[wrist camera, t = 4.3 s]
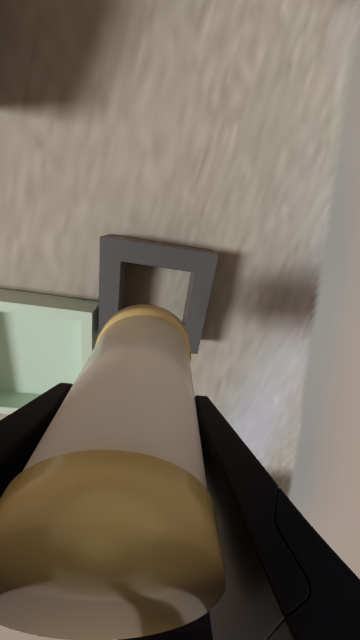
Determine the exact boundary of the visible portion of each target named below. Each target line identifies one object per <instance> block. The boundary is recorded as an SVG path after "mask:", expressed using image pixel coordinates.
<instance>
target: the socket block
mask: <svg viewBox="0 0 360 640" xmlns="http://www.w3.org/2000/svg"><path fill="white" fill-rule="evenodd" d="M218 257H219V255H218V254H216V253H215V252H214V251H212V250H205V249H199V248H193V247H186V246H180V245H174V244H168V243H161V242H155V241H149V240H143V239H136V238H130V237H124V236H118V235H111V234H108V235H104V236H101V237H100V272H99V331H98V336H99V334H100V333H101V331H102V329H103V328H104V326H105V324H106V323H107V321H108V320H109V319H110V318H111V317H112V316H113V315H114V314H115V313H116V312H118V311H120V310H121V309H124V295H125V279H126V263H127V262H128V263H135V264H141V265H148V266H155V267H162V268H168V269H175V270H182V271H188V272H191V275H190V281H189V286H188V292H187V298H186V304H185V309H184V315H183V321H182V323H183V325H184V327H185V328H186V330H187V333H188V337H189V343H190V349H191V353H193V354H197V353H198V349H199V344H200V340H201V335H202V330H203V326H204V321H205V317H206V312H207V307H208V303H209V298H210V294H211V289H212V284H213V280H214V275H215V271H216V266H217V261H218Z"/></svg>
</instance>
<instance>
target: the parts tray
mask: <svg viewBox="0 0 360 640" xmlns="http://www.w3.org/2000/svg"><path fill="white" fill-rule="evenodd" d="M98 331H99V301H92V300H84V299H77V298H69V297H61V296H54V295H46V294H38V293H31V292H23V291H16V290H8V289H0V413H1V414H11V413H13V412H14V411H16V410H18V409H19V408H21V407H22V406H24V405H25V404H27V403H29V402H30V401H32V400H33V399H35V398H36V397H38V396H40V395H41V394H43V393H44V392H46V391H48V390H49V389H51V388H52V387H54V386H55V385H57V384H59V383H72V384H74V382H75V380H76V379H77V377H78V375H79V373H80V372H81V370H82V368H83V367H84V365H85V363H86V361H87V360H88V358H89V356H90V355H91V353H92V351H93V349H94V348H95V344H96V341H97V338H98Z"/></svg>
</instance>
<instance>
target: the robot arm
mask: <svg viewBox="0 0 360 640" xmlns="http://www.w3.org/2000/svg"><path fill="white" fill-rule="evenodd" d="M72 385H73V384H72V383H59V384H57V385H55V386H54V387H52V388H51V389H49V390H48V391H46V392H44V393H43V394H41V395H40V396H38V397H36V398H35V399H33V400H32V401H30V402H29V403H27V404H25V405H24V406H22V407H21V408H19V409H18V410H16V411H14V412H13V413H11V414H10V415H8V416H6V417H5V418H3V419H2V420H0V497H1V496H2V494H3V492H4V491H5V489H6V488H7V486H8V485H9V483H10V482H11V481H12V480H13V479H14V478H15V477H16V476H17V475H18V474H20V473H21V472H22V471H23V470H24V468H25V466H26V464H27V463H28V461H29V459H30V457H31V456H32V454H33V452H34V451H35V449H36V447H37V445H38V444H39V442H40V440H41V439H42V437H43V435H44V433H45V432H46V430H47V428H48V427H49V425H50V423H51V421H52V420H53V418H54V416H55V415H56V413H57V411H58V409H59V408H60V406H61V404H62V403H63V401H64V399H65V397H66V396H67V394H68V392H69V391H70V389H71V387H72ZM195 403H196V410H197V418H198V425H199V432H200V440H201V447H202V454H203V462H204V469H205V476H206V484H207V490H208V492H209V493H210V495H211V497H212V500H213V502H214V507H215V513H216V519H217V526H218V532H219V539H220V546H221V552H222V559H223V565H224V572H225V578H226V587H225V591H224V594H223V596H222V598H221V599H220V601H219V602H218V603H217V604H216V605H215V606H214V607H213V608H212V609H211V610H210V611H209V612H207V613H206V614H205V615H203V616H201V617H200V618H198V619H196V620H194V621H192V622H190V623H188V624H186V625H183V626H180V627H178V628H175V629H172V630H168V631H165V632H161V633H157V634H153V635H148V636H142V637H136V638H128V639H118V640H360V579H359V578H358V577H357V576H356V575H355V574H354V573H353V572H352V570H351V569H350V568H349V567H348V566H347V565H346V564H345V563H344V562H343V561H342V560H341V559H340V557H339V556H338V555H337V554H336V553H335V552H334V551H333V550H332V549H331V547H330V546H329V545H328V544H327V543H326V542H325V541H324V540H323V539H322V537H321V536H320V535H319V534H318V533H317V532H316V531H315V530H314V528H313V527H312V526H311V525H310V524H309V523H308V522H307V520H306V519H305V518H304V517H303V515H302V514H301V513H300V512H299V511H298V510H297V508H296V507H295V506H294V505H293V503H292V502H291V501H290V500H289V498H288V497H287V496H286V495H285V493H284V492H283V491H282V490H281V489H280V488H278V485H277V483H276V482H275V481H274V480H273V478H272V477H271V476H270V475H269V473H268V472H267V471H266V470H265V468H264V467H263V466H262V465H261V463H260V462H259V461H258V460H257V458H256V457H255V456H254V455H253V453H252V452H251V451H250V450H249V448H248V447H247V446H246V445H245V443H244V442H243V441H242V440H241V438H240V437H239V436H238V434H237V433H236V432H235V431H234V429H233V428H232V427H231V426H230V424H229V423H228V422H227V421H226V419H225V418H224V417H223V416H222V414H221V413H220V412H219V411H218V409H217V408H216V407H215V406H214V404H213V403H212V402H211V401H210V399H209V398H208V397H207V396H198V395H197V396H195Z"/></svg>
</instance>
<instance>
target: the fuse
mask: <svg viewBox="0 0 360 640" xmlns="http://www.w3.org/2000/svg"><path fill="white" fill-rule="evenodd" d="M190 361H191V349H190V343H189V337H188V333H187V330H186V328H185V327H184V325H183V323H182V322H181V321H180V320H179V319H178V318H177V317H176V316H175V315H174V314H173V313H171V312H169V311H168V310H166V309H164V308H161V307H158V306H154V305H148V304H139V305H132V306H129V307H126V308H124V309H121V310H120V311H118V312H116V313H115V314H114V315H113V316H112V317H111V318H110V319H109V320H108V321H107V323H106V324H105V326H104V328H103V329H102V331H101V333H100V334H99V336H98V338H97V341H96V344H95V348H94V349H93V351H92V353H91V355H90V356H89V358H88V360H87V361H86V363H85V365H84V367H83V368H82V370H81V372H80V373H79V375H78V377H77V379H76V380H75V382H74V384H73V385H72V387H71V389H70V391H69V392H68V394H67V396H66V397H65V399H64V401H63V403H62V404H61V406H60V408H59V409H58V411H57V413H56V415H55V416H54V418H53V420H52V421H51V423H50V425H49V427H48V428H47V430H46V432H45V433H44V435H43V437H42V439H41V440H40V442H39V444H38V445H37V447H36V449H35V451H34V452H33V454H32V456H31V457H30V459H29V461H28V463H27V464H26V466H25V468H24V470H23V471H22V472H21V473H20V474H18V475H17V476H16V477H15V478H14V479H13V480H12V481H11V482H10V483H9V485H8V486H7V488H6V489H5V491H4V492H3V494H2V496H1V497H0V625H2V626H5V627H8V628H10V629H14V630H17V631H21V632H24V633H29V634H33V635H38V636H44V637H50V638H58V639H67V640H118V639H128V638H136V637H142V636H148V635H153V634H157V633H161V632H165V631H168V630H172V629H175V628H178V627H180V626H183V625H186V624H188V623H190V622H192V621H194V620H196V619H198V618H200V617H201V616H203V615H205V614H206V613H207V612H209V611H210V610H211V609H212V608H213V607H214V606H215V605H216V604H217V603H218V602H219V601H220V599H221V598H222V596H223V594H224V591H225V587H226V578H225V572H224V565H223V559H222V552H221V546H220V539H219V532H218V526H217V519H216V513H215V507H214V502H213V500H212V497H211V495H210V493H209V492H208V490H207V484H206V476H205V469H204V462H203V454H202V447H201V440H200V432H199V425H198V418H197V410H196V403H195V395H194V388H193V381H192V373H191V366H190Z"/></svg>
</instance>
